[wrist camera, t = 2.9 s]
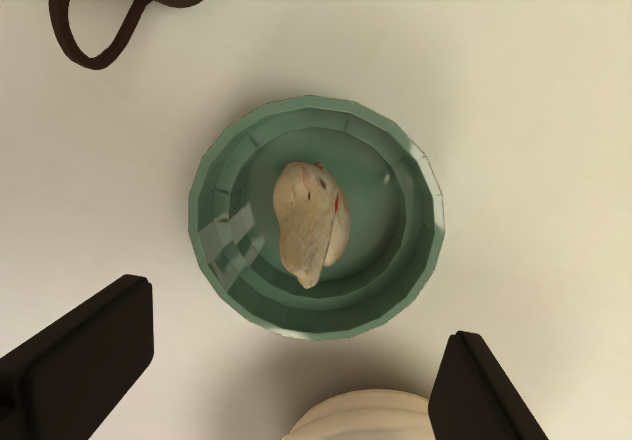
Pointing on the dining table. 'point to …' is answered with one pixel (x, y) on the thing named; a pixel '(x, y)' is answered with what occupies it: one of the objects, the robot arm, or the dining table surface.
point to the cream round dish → (366, 417)
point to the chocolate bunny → (310, 220)
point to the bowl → (363, 204)
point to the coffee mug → (67, 43)
